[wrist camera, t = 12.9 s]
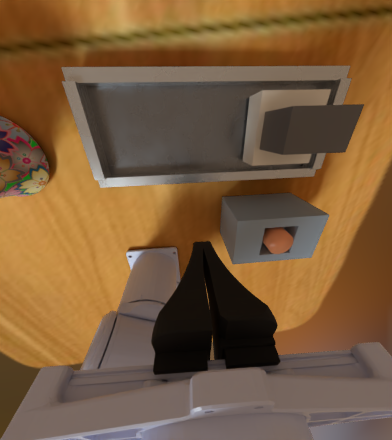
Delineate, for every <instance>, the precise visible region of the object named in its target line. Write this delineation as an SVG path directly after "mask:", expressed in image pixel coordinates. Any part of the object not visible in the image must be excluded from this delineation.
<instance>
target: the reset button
mask: <svg viewBox="0 0 392 440" xmlns="http://www.w3.org/2000/svg"><path fill="white" fill-rule="evenodd" d="M262 241H263V243H264V244H265V245H266V247H267V248H268V249H269V251H270V252H271V253H273V254H281V253H284V252H286V251H287V250H289V249H290V248H291V246H292V245H293V237H292V236H291V235H290V234H289V233H288V232H287V231H286V230H285V229H284V228H283V227H275V228H265V231H264V235H263V240H262Z"/></svg>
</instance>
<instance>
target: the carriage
mask: <svg viewBox="0 0 392 440" xmlns="http://www.w3.org/2000/svg"><path fill="white" fill-rule="evenodd" d="M330 91H331V89H315V90H262V91H260V92H258V93H256V94H254V95H252V96H250V98H249V107H248V116H247V126H246V135H245V144H244V153H243V162H245V163H247V164H250V165H252V166H258V165H280V164H301V163H309V161H310V157H311V154H316V153H340V152H346V149H347V146H348V144H349V141H350V139H351V136H352V134H353V131H354V129H355V126H356V124H357V121H358V119H359V116H360V114H361V111H362V109H363V106H364V104H361V105H326V104H327V101H328V98H329V95H330Z"/></svg>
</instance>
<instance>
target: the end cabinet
mask: <svg viewBox="0 0 392 440" xmlns="http://www.w3.org/2000/svg"><path fill="white" fill-rule="evenodd" d="M328 217H329V214H327V213H325V212H323V211H322V210H320V209H318V208H316V207H314V206H313V205H311V204H309V203H307V202H306V201H304V200H302V199H300V198H299V197H297V196H295V195H293V194H291V193H278V194H261V195H244V196H227V197H222V207H221V225H220V233H221V236H222V238H223V241H224V243H225V246H226V248H227V251H228V253H229V256H230V258H231V261H232V264H242V263H254V262H265V261H277V260H289V259H300V258H311V257H312V255H313V252H314V250H315V248H316V245H317V243H318V241H319V238H320V236H321V234H322V231H323V229H324V227H325V224H326V222H327V220H328ZM275 227H283V228H284V229H285V230H286V231H287V232H288V233H289V234H290V235H291V236H292V237H293V245H292V246H291V248H290V249H289V250H287V251H286V252H284V253H281V254H273V253H271V252H270V251H269V249H268V248H267V247H266V245H265V244H264V243H263V241H262V240H263V235H264V231H265V228H275Z"/></svg>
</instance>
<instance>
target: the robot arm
mask: <svg viewBox="0 0 392 440" xmlns="http://www.w3.org/2000/svg"><path fill="white" fill-rule="evenodd" d="M173 252H175V253H173ZM126 255H127V259H128V262H129V265H130V268H131V273H130V275H129V278H128V281H127V284H126V287H125V290H124V293H123V296H122V299H121V302H120V304H119V307H118V310H117V312H116V311H110V312H109V313H108V314H106V315H105V316H104V317H103V318H102V321H101V323H100V325H99V327H98V329H97V332H96V334H95V336H94V338H93V341H92V343H91V345H90V348H89V350H88V352H87V355H86V357H85V360H84V362H83V365H82V367H81V369H80V370H78V371H73V369H72V368H71V367H69V366H50V367H43V368H41V370H40V372H39V373H38V375H37V377H36V379H35V380H34V382H33V384H32V386H31V388H30V389H29V391H28V393H27V395H26V396H25V398H24V400H23V402H22V403H21V405H20V407H19V408H18V410H17V412H16V414H15V415H14V417H13V419H12V421H11V422H10V424H9V426H8V428H7V429H6V431H5V433H4V435H3V437H2V438H1V440H313V437H312V434H311V432H310V429H309V427H314V426H321V425H330V424H337V423H345V422H353V421H361V420H369V419H370V420H371V419H379V418H390V417H392V357H391V355H390V354H389V353H388V352H387V351H386V350H385V348H384V347H383V346H382V345H381V344H380V343H379V342H371V343H360V344H356V345H354V346H353V347H352V348H351V349H350V350H342V351H327V352H314V353H301V354H288V355H278V353H277V350H276V348H275V340H274V338H273V334H274V333H275V331H276V329H277V322H276V320H275V317H274V316H273V314H272V312H271V310H270V309H269V307H268V306H267V305H266V304H265V303H263V302H262V301H261V300H259V299H258V298H257V297H255V296H254V295H253V294H252V293H251V292H249V291H248V290H247V289H246V288H245V287H244V286H243V285H242V284H241V283H240V282H239V281H238V280H237V279H236V278H235V277H234V276H233V275H232V274H231V273H230V272H229V270H228V269H227V268H226V267H225V265H224V264H223V263H222V261H221V260H220V258H219V257H218V255H217V254H216V252H215V250H214V248H213V247H212V245H211V242H210V241H206V242H194V243H193V251H192V255H191V258H190V261H189V264H188V266H187V269H186V271H185V273H184V275H183V277H182V279H181V280H180V271H179V261H178V252H177V248H176V247H167V248H154V249H141V250H129V251H127V253H126ZM204 278H205V279H204ZM205 283H206V285H205ZM206 288H207V292H206ZM207 293H208V298H207ZM208 299H209V304H208ZM209 307H210V309H209ZM212 337H213V348H214V359H215V360H210V351H211V344H212Z"/></svg>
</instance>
